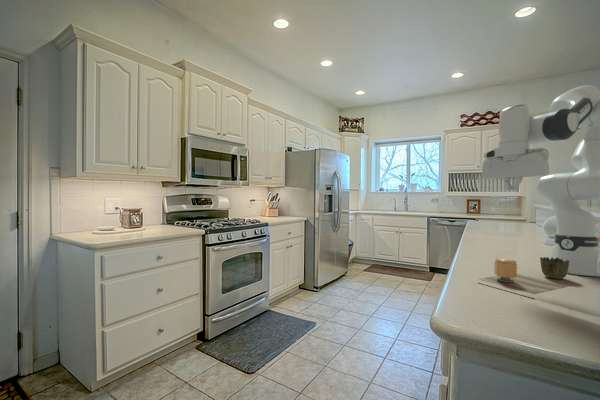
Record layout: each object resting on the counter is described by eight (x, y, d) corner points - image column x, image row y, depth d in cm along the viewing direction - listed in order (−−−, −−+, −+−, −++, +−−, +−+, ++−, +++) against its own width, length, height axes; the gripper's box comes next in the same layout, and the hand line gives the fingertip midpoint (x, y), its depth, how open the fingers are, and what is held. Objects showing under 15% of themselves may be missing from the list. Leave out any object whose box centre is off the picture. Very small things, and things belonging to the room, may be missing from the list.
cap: (500, 272, 96) (501, 257, 96) (519, 276, 91) (519, 260, 91) (491, 274, 94) (491, 259, 93) (509, 278, 89) (510, 262, 89)
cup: (575, 285, 93) (575, 261, 93) (552, 285, 93) (552, 261, 93) (555, 279, 101) (555, 256, 101) (534, 278, 101) (534, 256, 101)
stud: (502, 278, 95) (502, 260, 95) (516, 282, 91) (517, 263, 91) (493, 279, 93) (494, 261, 93) (508, 283, 89) (508, 264, 89)
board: (514, 277, 103) (514, 273, 103) (571, 290, 88) (571, 285, 88) (477, 283, 94) (477, 278, 94) (533, 299, 80) (534, 293, 80)
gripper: (553, 147, 93) (553, 190, 93) (490, 155, 112) (489, 191, 112) (543, 146, 91) (542, 189, 91) (479, 154, 109) (479, 190, 109)
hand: (512, 190), depth 102 cm, fingers closed
